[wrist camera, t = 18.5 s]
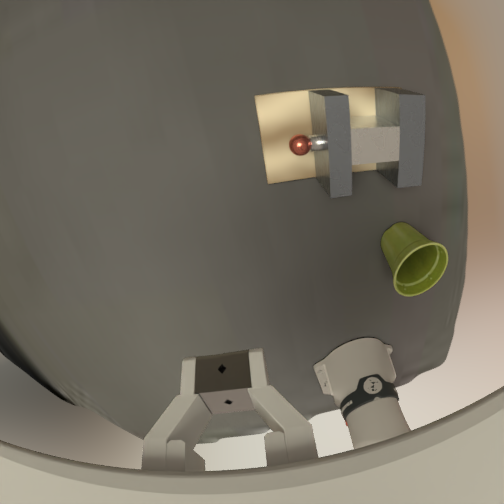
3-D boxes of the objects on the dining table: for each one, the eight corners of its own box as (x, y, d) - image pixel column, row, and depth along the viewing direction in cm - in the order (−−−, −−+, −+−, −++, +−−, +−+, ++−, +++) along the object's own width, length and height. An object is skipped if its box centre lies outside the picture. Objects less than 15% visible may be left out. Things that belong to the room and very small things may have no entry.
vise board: (397, 164, 37) (401, 167, 37) (267, 180, 38) (268, 183, 37) (397, 87, 31) (401, 88, 30) (254, 95, 31) (255, 96, 31)
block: (376, 145, 35) (398, 160, 30) (332, 149, 35) (350, 165, 30) (375, 115, 32) (399, 126, 28) (330, 117, 32) (349, 129, 28)
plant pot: (377, 212, 42) (404, 245, 35) (426, 211, 42) (456, 242, 35) (365, 263, 47) (386, 300, 40) (412, 259, 48) (435, 292, 41)
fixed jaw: (398, 167, 37) (421, 185, 32) (376, 169, 37) (397, 187, 32) (398, 88, 30) (425, 95, 25) (374, 87, 30) (399, 94, 25)
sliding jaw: (334, 175, 37) (352, 195, 32) (288, 181, 37) (299, 203, 32) (329, 89, 30) (348, 95, 25) (277, 93, 30) (288, 99, 25)
